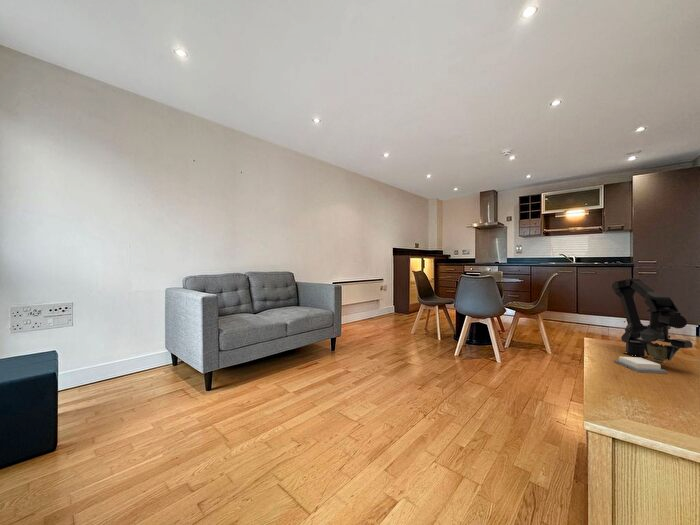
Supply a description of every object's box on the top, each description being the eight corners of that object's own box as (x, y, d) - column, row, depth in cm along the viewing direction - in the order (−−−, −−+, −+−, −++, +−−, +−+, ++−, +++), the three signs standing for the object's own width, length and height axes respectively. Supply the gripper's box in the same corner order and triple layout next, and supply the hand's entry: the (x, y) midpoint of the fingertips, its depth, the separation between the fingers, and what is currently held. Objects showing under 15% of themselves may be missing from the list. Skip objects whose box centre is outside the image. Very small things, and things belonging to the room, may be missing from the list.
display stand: (613, 362, 127) (613, 355, 127) (639, 363, 126) (639, 356, 126) (638, 372, 115) (638, 364, 115) (667, 373, 114) (667, 366, 114)
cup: (659, 359, 127) (659, 342, 127) (676, 365, 119) (676, 347, 119) (641, 359, 127) (641, 342, 127) (657, 364, 120) (658, 346, 120)
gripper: (621, 320, 131) (621, 352, 131) (675, 329, 112) (675, 366, 112) (637, 319, 133) (637, 350, 133) (693, 328, 115) (693, 364, 115)
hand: (658, 357), depth 123 cm, fingers closed on cup, 6 cm apart
